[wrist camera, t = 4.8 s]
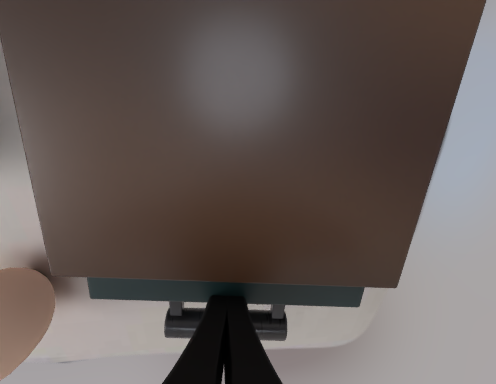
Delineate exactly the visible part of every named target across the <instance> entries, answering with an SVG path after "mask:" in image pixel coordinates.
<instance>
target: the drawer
mask: <svg viewBox="0 0 496 384" xmlns="http://www.w3.org/2000/svg"><path fill="white" fill-rule="evenodd" d="M87 281H88V287H89V294H90V298H91V299H116V300H147V301H169V304H170V308H169V309H168V311H167V314H166V319H165V327H164V333H165V337H166V338H192V336H193V334H194V332H195V330H196V328H197V326H198V324H199V322H200V320H201V318H202V316H203V313H204V311H205V308H184V302H208V299H209V297H210V296H212V295H220V296H243V297H244V298H245V299H246V303H247V304H271V310H249V314H250V317H251V320H252V322H253V325H254V328H255V330H256V332H257V335H258V337H259V339H260V340H275V341H284V340H286V336H287V318H286V314H285V312H284V309H285V305H303V306H335V307H359V306H360V303H361V299H362V295H363V292H364V288H365V287H347V286H319V285H291V284H263V283H235V282H207V281H179V280H151V279H123V278H95V277H87Z"/></svg>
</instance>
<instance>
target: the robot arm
mask: <svg viewBox="0 0 496 384" xmlns="http://www.w3.org/2000/svg"><path fill="white" fill-rule="evenodd" d="M223 368H224V370H225V384H282V382H281V380H280V379H279V377H278V375H277V373H276V372H275V370H274V368H273V366H272V364H271V363H270V360H269V358H268V356H267V355H266V352H265V350H264V348H263V346H262V344H261V342H260V339H259V337H258V335H257V332H256V330H255V328H254V325H253V322H252V320H251V317H250V314H249V310H248V307H247V303H246V299H245V298H244V297H243V296H220V295H212V296H210V297H209V299H208V303H207V306H206V308H205V311H204V313H203V316H202V318H201V320H200V322H199V324H198V326H197V328H196V330H195V332H194V334H193V336H192V338H191V339H190V341H189V343H188V345H187V346H186V348H185V350H184V351H183V353H182V355H181V356H180V358H179V360H178V361H177V363H176V364H175V366H174V367H173V369H172V370H171V372H170V373H169V375H168V376H167V377H166V379H165V380H164V382H163V383H162V384H221V382H222V374H223Z"/></svg>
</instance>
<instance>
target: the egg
mask: <svg viewBox="0 0 496 384" xmlns="http://www.w3.org/2000/svg"><path fill="white" fill-rule="evenodd" d="M54 308H55V293H54V290H53V287H52V284H51V283H50V281H49V280H48V278H47V277H46V276H44V275H43V274H41V273H40V272H38V271H36V270H33V269H28V268H6V269H1V270H0V381H1V380H2V379H3V378H5V377H6V376H8V375H9V374H10V373H12V371H13V370H15V369H16V368H17V367H18V366H19V365H20V364H21V363H22V362H23V361H24V360H25V359H26V358H27V357H28V356H29V355H30V353H31V352H32V351H33V350H34V348H35V347H36V346H37V345H38V343H39V342H40V341H41V339H42V338H43V336H44V335H45V333H46V331H47V329H48V327H49V325H50V323H51V320H52V317H53V313H54Z"/></svg>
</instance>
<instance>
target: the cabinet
mask: <svg viewBox="0 0 496 384" xmlns="http://www.w3.org/2000/svg"><path fill="white" fill-rule="evenodd" d="M485 3H486V0H0V38H1V42H2V47H3V52H4V56H5V61H6V66H7V70H8V75H9V80H10V85H11V89H12V94H13V99H14V103H15V108H16V113H17V117H18V122H19V127H20V131H21V136H22V141H23V146H24V150H25V155H26V160H27V164H28V169H29V174H30V178H31V183H32V188H33V192H34V197H35V202H36V207H37V211H38V216H39V221H40V225H41V230H42V235H43V239H44V244H45V249H46V253H47V258H48V263H49V268H50V272H51V275H52V276H67V277H95V278H123V279H151V280H179V281H207V282H235V283H263V284H291V285H319V286H347V287H375V288H396V287H397V285H398V282H399V279H400V276H401V273H402V270H403V266H404V263H405V260H406V257H407V254H408V250H409V247H410V244H411V241H412V237H413V234H414V231H415V228H416V225H417V221H418V218H419V215H420V212H421V209H422V205H423V202H424V199H425V196H426V193H427V189H428V186H429V183H430V180H431V176H432V173H433V170H434V167H435V164H436V160H437V157H438V154H439V151H440V148H441V144H442V141H443V138H444V135H445V132H446V128H447V125H448V122H449V119H450V115H451V112H452V109H453V106H454V103H455V99H456V96H457V93H458V90H459V87H460V83H461V80H462V77H463V74H464V71H465V67H466V64H467V61H468V58H469V54H470V51H471V48H472V45H473V42H474V38H475V35H476V32H477V29H478V26H479V22H480V19H481V16H482V13H483V9H484V6H485Z"/></svg>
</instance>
